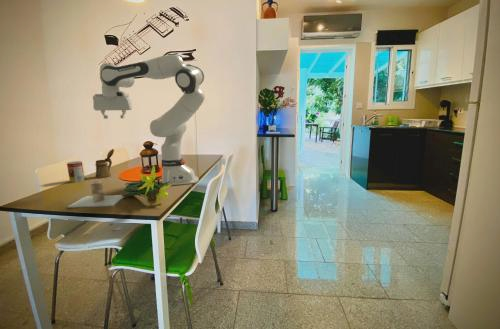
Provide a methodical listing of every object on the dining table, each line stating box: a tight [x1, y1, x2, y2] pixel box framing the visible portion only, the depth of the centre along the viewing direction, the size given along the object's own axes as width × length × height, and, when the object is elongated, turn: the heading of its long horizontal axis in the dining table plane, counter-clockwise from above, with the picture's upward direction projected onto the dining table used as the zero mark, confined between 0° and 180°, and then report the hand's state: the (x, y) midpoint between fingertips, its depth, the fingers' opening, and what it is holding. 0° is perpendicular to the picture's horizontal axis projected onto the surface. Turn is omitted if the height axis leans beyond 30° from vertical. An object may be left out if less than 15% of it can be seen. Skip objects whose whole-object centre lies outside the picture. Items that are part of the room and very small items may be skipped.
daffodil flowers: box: [121, 164, 173, 203], centre depth 116 cm, size 17×15×35 cm
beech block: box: [90, 180, 105, 202], centre depth 118 cm, size 4×4×9 cm
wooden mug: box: [95, 148, 115, 179], centre depth 168 cm, size 9×14×18 cm, turn 143°
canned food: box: [66, 160, 85, 183], centre depth 157 cm, size 8×8×12 cm
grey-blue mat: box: [67, 194, 126, 208], centre depth 119 cm, size 20×14×1 cm
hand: (114, 118), depth 143 cm, fingers open, 8 cm apart
